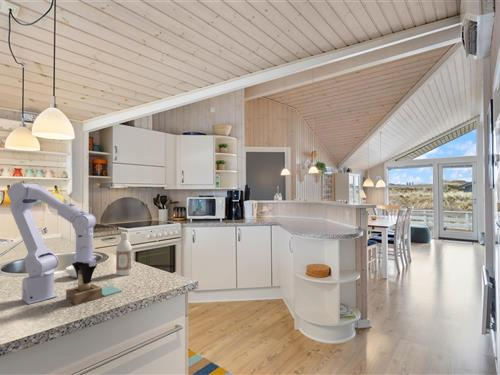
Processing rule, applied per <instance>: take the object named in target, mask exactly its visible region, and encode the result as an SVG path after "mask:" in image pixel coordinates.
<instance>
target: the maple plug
mask: <svg viewBox="0 0 500 375" xmlns="http://www.w3.org/2000/svg"><path fill="white" fill-rule="evenodd" d="M90 284H91V282H90V283H87V284H84V283H83V278H82V273H81V270H78V278H77V287H78V292H83V291H87V290H90Z"/></svg>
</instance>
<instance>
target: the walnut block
mask: <svg viewBox="0 0 500 375" xmlns="http://www.w3.org/2000/svg"><path fill="white" fill-rule="evenodd" d="M102 288H103V287H100V286H98V285H95V284H93V283H91V282H90V290H87V291H83V292H78V286H75V287H71V288H68V289H65V293H66V294H65V300H67V301H69V302H71V303H72V304H74V305H75V306H78V305H82V304H84V303H88V302H91V301H95V300H98V299H102V298H103V296H102ZM81 303H82V304H81Z"/></svg>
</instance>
